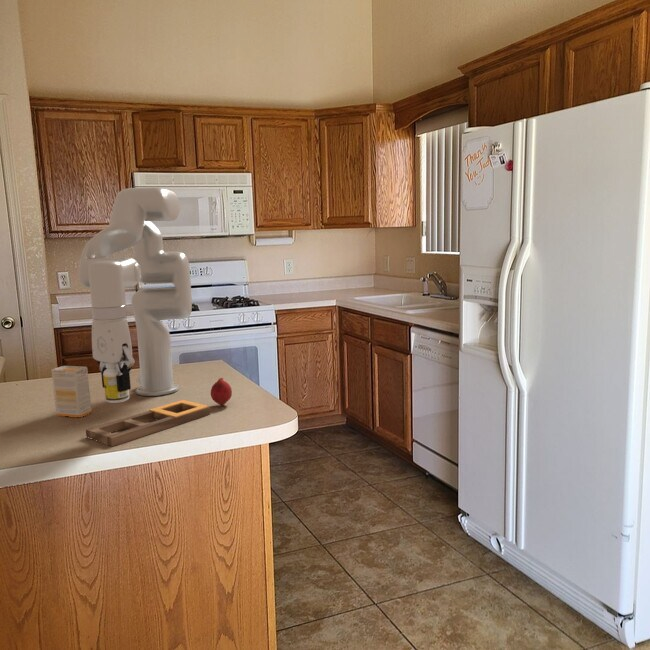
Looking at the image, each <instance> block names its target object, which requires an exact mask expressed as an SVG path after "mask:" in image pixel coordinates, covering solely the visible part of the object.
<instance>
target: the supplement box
mask: <svg viewBox="0 0 650 650" xmlns="http://www.w3.org/2000/svg"><path fill="white" fill-rule="evenodd" d="M51 378H52V385H53V386H52V387H53V395H54V404H55V413H56V415H55V416H57V415H61V416H60V417H65V416H69V418H77V417H81V418H83V416H84V417H86V416H88V415H90V414H89V413H91V414H92V402H91V392H90V382H89V372H88V367H87V366H75V365H61V366H59V367H54V368H52V369H51ZM87 414H88V415H87ZM85 415H86V416H85Z"/></svg>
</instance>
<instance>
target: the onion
mask: <svg viewBox="0 0 650 650" xmlns="http://www.w3.org/2000/svg"><path fill="white" fill-rule="evenodd" d="M232 391H233V390H232V387H231V385H230V384H229V383H228V382H227V381H225V380H224V378H223V377H219V378H218V380H217V381H216V382H215V383H213V384H212V386H211V389H210V396H211V397H210V398H211V399H212V400H213V401H214V402H215V403H216V404H217V405H220V406H221V405H222V406H224V405H226V403H227V402H229V400H230V399H231V398H232V397H233V396H232V395H233V392H232Z"/></svg>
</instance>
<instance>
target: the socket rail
mask: <svg viewBox="0 0 650 650" xmlns="http://www.w3.org/2000/svg"><path fill="white" fill-rule="evenodd" d="M210 411H211V410H210V405H206V404H202V403H197V402H195V401H190V400H189V401H188V400H185V399H181V400H177V401H175V402H174V401H173V402H171V403H168V404H164V405H161V406H160V405H159V406H156V407H153V408H150V409H148V411H144V412H140V413H137V414H134V415H129V416H127V417H123V418H120V419H117V420H114V421H110V422H106V423H103V424H100V425H95V426H94V427H93V426H92V427H90V428H86V429H85V437H86V436H87V437H89V438H92V439H95V440H97V441H96V442H98V441H100V442H99V443H101V442H102V444H104V443H105V444H104V445H107V446H110V447H116V446H118V445H121V444H124V443H127V442H130V441H134V440H137V439H140V438H141V437H142V438H143V437H145V436H148V435H152V434H154V433H157V432H161V431H163V430H167V429H170V428H173V427H175V426H178V425H181V424H184V423H188V422H191V421H193V420H196V419H199V418H204V417H205V416H208V415H209V416H210V415H211V413H210ZM154 420H155V421H154ZM150 421H152V422H150ZM147 422H149V423H147ZM121 429H122V430H121ZM126 429H127V430H126ZM117 430H119V431H120V432H118V431H117ZM123 430H124V431H123ZM114 431H115V432H117V433H115V432H114ZM110 432H112V433H110ZM89 438H88V439H89ZM92 439H91V440H92ZM95 440H94V441H95Z"/></svg>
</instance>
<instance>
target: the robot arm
mask: <svg viewBox="0 0 650 650" xmlns="http://www.w3.org/2000/svg"><path fill="white" fill-rule="evenodd" d="M179 200H180V199H179V198H178V196H177V194H176V193H175V192H174V191H173V190H170V189H166V188H163V187H157V186H156V187H152V186H151V187H128V188H125V189H122V190H120V191H119V192H118V193H117V194H116V196H115V200H114V203H113V206H112V210H111V215H110V219H109V223H108V226H106V227H105V228H103V229H102V230H100V231H98V233H96V234H95V235H94V236H93V237H91V238H90V239H89V240H88V241H87V242H86V243H85V245H84V247H83V249H82V252H81V256H80V259H79V263H78V269H77V276H78V280H79V283H80V284H81V286H83V287H84V288H86V289H88V290H89V294H90V302H91V303H90V304H91V313H92V320H91V321H92V322H91V350H92V351H91V352H92V358H93V359H94V360H95V361H97V364H98V365H99V371H100V372H101V374H100V375H101V384H102V388H103V389H105V387H104V378H103V372H104V371H105V370H106V369H107V368H106V366H105V363H109V364H115V366H116V369H117V373H118V375H116V379H117V390H118V392H122V391H126V390H129V391H130V390H131V388H132V387H131V376H130V374H131V372H132V371H131V370H132V368H133V366H134V364H135V363H136V361H135V359H134V356H133V348H132V345H133V344H132V340H131V339H132V337H131V333H130V327H129V323H128V314H127V313H128V311H127V305H126V303H127V301H126V291H125V290H126V289H132V288H134V287H135V286H137V285H138V283H141V284H144V285H145V284H147V285H156V284H157V285H158V284H159V285H160V284H164V285H165V284H172V285H174V287H165V288H164V287H159V288H157V287H155V288H152V287H151V288H143V289H139V290H137V291H136V292H135V293H134V294H133V295H132V296H131V300H130V301H131V308H132V313H133V316H134V317H133V318H134V322H135V327H136V335H137V348H138V358H139V362H138V363H139V372H140V373H139V374H140V376H139V377H137V378H136V382H138V383H139V386H138V387H137V388H136V391H135V392H136V394H137V395H140V396H146V397H155V396H156V397H157V396H164V395H165V396H166V395H169V394H172V393H175V392H177V391H178V390H179V388H180V386H179V384H178V383H175V382H174V376H173V375H174V374H173V373H174V372H173V360H172V359H173V358H172V348H171V345H172V344H171V335H170V334H171V333H170V331H169V330H168V328H167V327H166V325H165V324H164V323H163V322H162V321H165V320H166V321H167V320H185V319H187V318H189V317H190V315H191V314H192V309H193V308H192V307H193V306H192V302H193V301H192V284H191V281H192V280H191V269H190V263H189V262H190V261H189V259H188V257H187V255H186V254H185V253H183V252H182V251H164V242H163V240H164V239H163V234H162V232H161V231H160V229H159V228H158V227H157V226H156V225H155V224H154V223H153V222H172V221H176V219H177V218H178V217H179V215H180V209H181V207H180V205H181V204H180V201H179ZM132 246H133V256H134V257H133V258H132V257H125V256H124V257H123V256H121V257H108V256H110V255H112V254H115V253H119V252H120V251H124V250H126V249H128V248H130V247H132ZM120 360H123V361H120ZM120 364H123V366H122V368H121V366H120Z"/></svg>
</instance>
